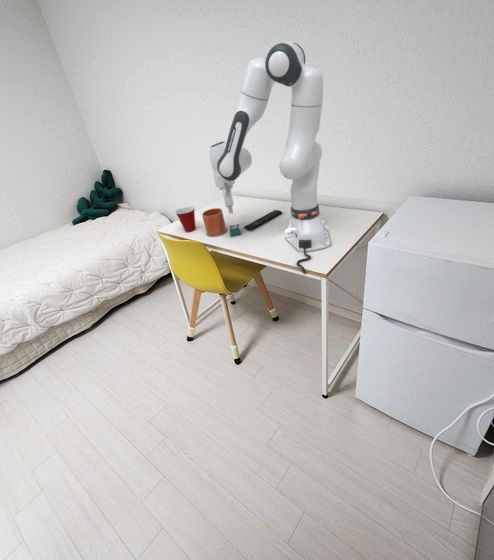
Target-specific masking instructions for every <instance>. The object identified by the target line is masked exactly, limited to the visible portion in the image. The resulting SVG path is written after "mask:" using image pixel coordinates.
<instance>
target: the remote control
mask: <svg viewBox="0 0 494 560" xmlns="http://www.w3.org/2000/svg"><path fill="white" fill-rule="evenodd" d="M281 214H283V211H282V210H279V209H274V210H272V211H270V212H268V213H266V214H264V215H263V216H260V217H259V218H258V219H256V220H255V219H254V221H251V222H250V223H248V224H247V225H245V226H243V228H244V229H245V230H247V231H252V230H254V229H256V228H258V227H259V226H261V225H263V224H265V223H267V222H268V221H270V220H272V219H274V218H275V217H277V216H279V215H281Z"/></svg>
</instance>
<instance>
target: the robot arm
mask: <svg viewBox="0 0 494 560" xmlns="http://www.w3.org/2000/svg"><path fill="white" fill-rule="evenodd" d="M323 77H324V76H323V73H322V71H321V70H320V69H319V68H317V67H314V66H308V65H306V54H305V51H304V49H303V48H302V46H300V45H299V44H298V43H296V42H291V41H282V42H280V43H277V44H275V45H274V46H272V47H271V48H270V49H269V51H268V52H267V54H266V57H265V58H262V57H256V58H252V59H251V60H250V61H249V63H248V64H247V67H246V69H245V72H244V74H243V78H242V81H241V85H240V89H239V94H238V99H237V104H236V108H235V111H234V115H233V119H232V122H231V124H230V128H229V132H228V136H227V140H226V141H219V142H216V143H214V144H212V145H211V146H209V150H208V151H209V153H208V154H209V161H210V165H211V169H212V170H213V178H214V184H215V187H216V188H219V190H220V191H222V197H223V201H224V206H225V208H227V209H228V213H229V214H230V215H231V214H234V210H233V209H234V208H233V207H234V200H233V195H232V189H233V187H234V184H235V183H236V180H237V179H238V178H239V177H240V175H242V174H243V173H245V172H246V171H247V170H248V169H249V168H250V167H251V166H252V161H253V159H252V155H251V153H250V151H249V150H248V149H246V148H244V144H245V140H246V137H247V135H248V134H249V132H250V131H251V129H252V128H253V127H254V126H255V125H256V124H257V123H258V122H259V121H260V120H261V119H262V118H263V116H264V114H265V111H266V109H267V106H268V103H269V100H270V96H271V92H272V89H273V86H274V85H275V84H276V83H278V84H280V85H283V86H285V87H290V89H291V100H290V115H289V127H288V133H287V137H286V141H285V146H284V149H283V153H282V157H281V158H280V161H279V171H280V174H281V175H282V176H283V177H284V178H285V179H287V180H292V183H291V185H290V189H289V191H290V204H291V206H290V214H291V217H290V219H288V228H287V229H286V230H285V231H284V232H285V233H288V234H287V235H285V239H286V240H287V241H288V242H289V243H290V244H291V245H292V246H293V247H294V248H295V249H296V250H297V251H298V252H303V254H304V256H306V258H301V259H298V260H297V262H296V265H297V266H298V267H300V268H301V269H302V271H303V272H302V273H303V274H304V275H305V274H306V273H307V272H306V268H305V267H304V266H303V265H302V264H300V263H301V262H303V261H308V260H310V259H311V258H312V256H311V255H309V254H308V253H307V252H311V251H318V250H322V249H325V248H327V247H330V246H331V239H330V236H329V233H328V225H327V224H324V223H325V219H324V218H322V213H320V205H319V202H318V180H319V173H320V163H321V158H322V154H323V149H322V146H321V145H320V143H318V142H317V141H316V138H317V135H318V134H319V131H320V124H321V118H322V117H321V116H322V108H323V98H324V78H323Z"/></svg>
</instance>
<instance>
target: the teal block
mask: <svg viewBox="0 0 494 560" xmlns="http://www.w3.org/2000/svg"><path fill="white" fill-rule="evenodd" d="M228 227H229V233H230V237H232V238H233V237H238V236H241V230H240V224H239V223H237V224H232V225H228Z"/></svg>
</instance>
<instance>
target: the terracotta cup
mask: <svg viewBox="0 0 494 560" xmlns="http://www.w3.org/2000/svg"><path fill="white" fill-rule="evenodd" d="M201 216H202V220H203V223H204V227H205V231H206V235H207V236H208V237H211V238H212V237H219V236H222V235H224V234H225V233H226V232H227V226H226V222H225V217H224V212H223V209H221V208H220V207H219V208H217V207H214V208H210V209H206V210H204V211H203V212H202V213H201Z"/></svg>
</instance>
